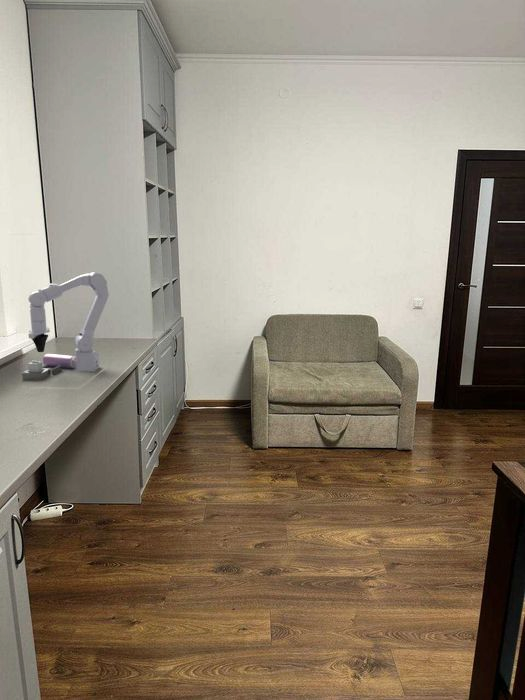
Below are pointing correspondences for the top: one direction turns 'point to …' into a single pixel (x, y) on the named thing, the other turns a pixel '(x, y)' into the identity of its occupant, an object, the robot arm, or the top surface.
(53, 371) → the holster
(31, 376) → the port
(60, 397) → the top surface
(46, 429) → the top surface
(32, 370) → the plug
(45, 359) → the beverage can
